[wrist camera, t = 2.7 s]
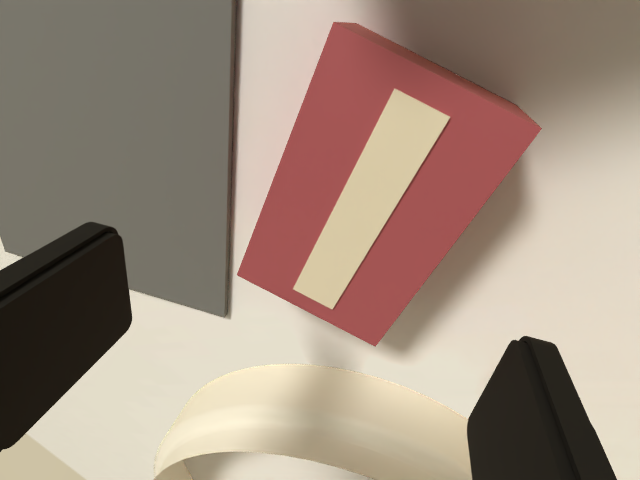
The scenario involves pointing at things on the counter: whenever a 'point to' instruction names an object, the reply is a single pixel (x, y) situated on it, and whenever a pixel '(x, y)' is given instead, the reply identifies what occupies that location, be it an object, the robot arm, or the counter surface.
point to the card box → (378, 181)
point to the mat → (122, 135)
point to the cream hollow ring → (320, 424)
